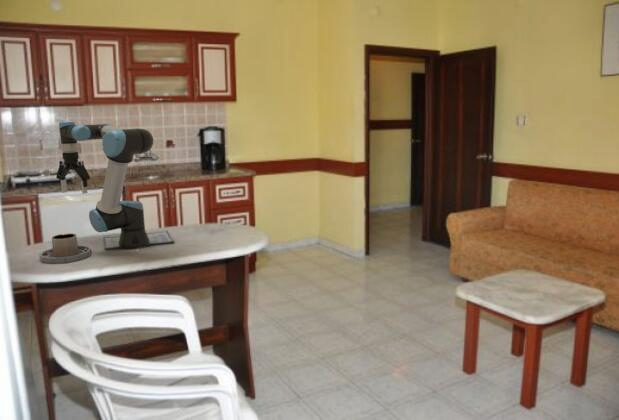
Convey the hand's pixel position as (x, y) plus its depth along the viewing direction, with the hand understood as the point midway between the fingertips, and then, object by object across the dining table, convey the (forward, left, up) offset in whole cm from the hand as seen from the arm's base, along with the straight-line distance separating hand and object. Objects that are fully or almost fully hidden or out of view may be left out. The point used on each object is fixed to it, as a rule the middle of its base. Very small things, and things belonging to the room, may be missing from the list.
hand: (74, 192), depth 269 cm
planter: (-14, +23, -26) cm, 38 cm away
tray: (-14, +23, -27) cm, 38 cm away
